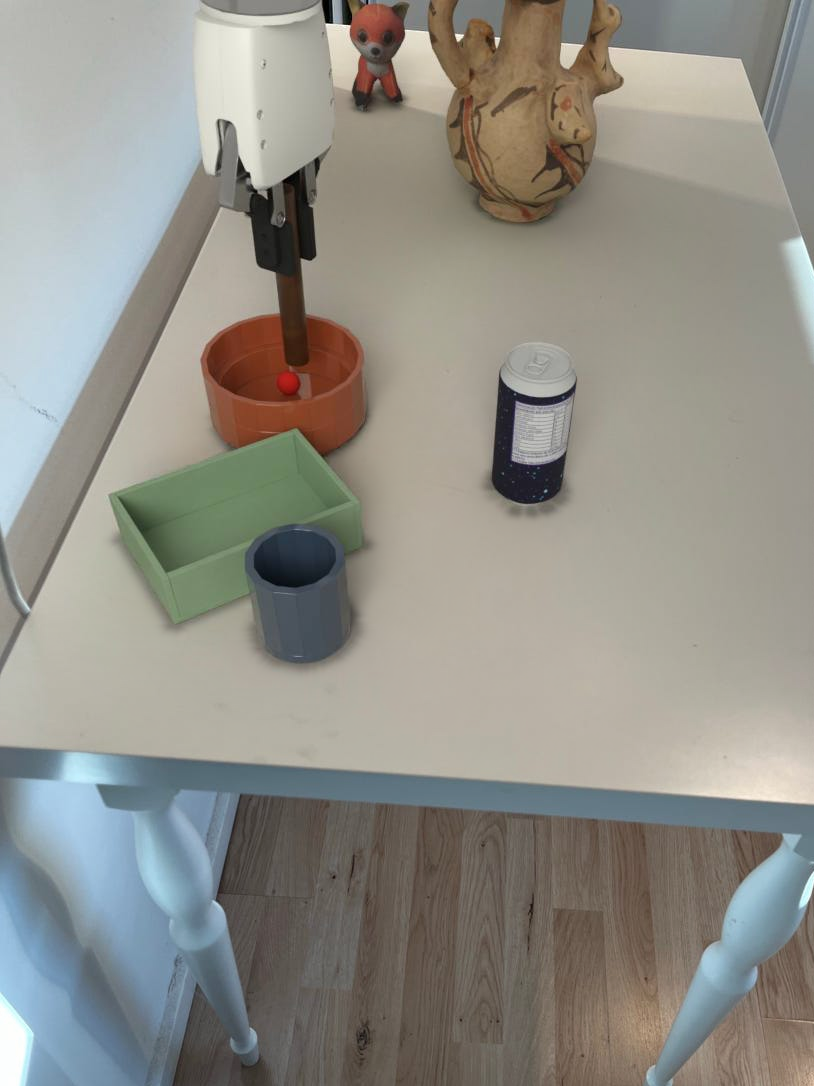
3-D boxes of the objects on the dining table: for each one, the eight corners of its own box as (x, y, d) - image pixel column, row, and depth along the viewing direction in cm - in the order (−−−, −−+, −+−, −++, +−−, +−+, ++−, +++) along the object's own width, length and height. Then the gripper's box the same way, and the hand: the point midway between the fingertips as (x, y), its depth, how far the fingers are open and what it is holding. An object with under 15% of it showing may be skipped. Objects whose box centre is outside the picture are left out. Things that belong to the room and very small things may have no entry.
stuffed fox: (411, 81, 132) (410, -22, 123) (409, 116, 125) (409, 9, 115) (355, 79, 131) (350, -24, 122) (350, 114, 124) (344, 7, 115)
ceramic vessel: (575, 260, 103) (610, -14, 84) (404, 228, 106) (400, -45, 87) (609, 186, 114) (647, -69, 95) (454, 159, 117) (461, -95, 98)
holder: (284, 678, 65) (272, 608, 60) (242, 616, 69) (227, 545, 63) (367, 640, 68) (363, 569, 63) (323, 582, 71) (315, 510, 66)
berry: (284, 385, 82) (289, 403, 84) (302, 373, 83) (307, 391, 85) (269, 374, 83) (274, 392, 85) (287, 362, 84) (292, 381, 85)
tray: (175, 624, 68) (161, 580, 65) (122, 539, 73) (107, 494, 70) (363, 546, 74) (360, 501, 70) (302, 472, 79) (296, 427, 76)
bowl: (254, 486, 78) (243, 424, 73) (188, 400, 84) (175, 339, 80) (394, 434, 83) (393, 373, 78) (322, 357, 89) (316, 297, 85)
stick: (291, 369, 79) (273, 197, 68) (280, 357, 80) (261, 186, 69) (314, 362, 80) (299, 191, 69) (302, 350, 81) (286, 180, 70)
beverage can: (571, 479, 80) (590, 351, 71) (544, 521, 77) (561, 393, 67) (508, 458, 81) (519, 330, 72) (479, 498, 78) (487, 370, 69)
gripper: (279, -63, 65) (302, 208, 79) (123, 0, 56) (180, 296, 70) (377, -41, 63) (382, 232, 77) (232, 27, 54) (268, 326, 68)
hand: (286, 261), depth 73 cm, fingers closed on stick, 2 cm apart
